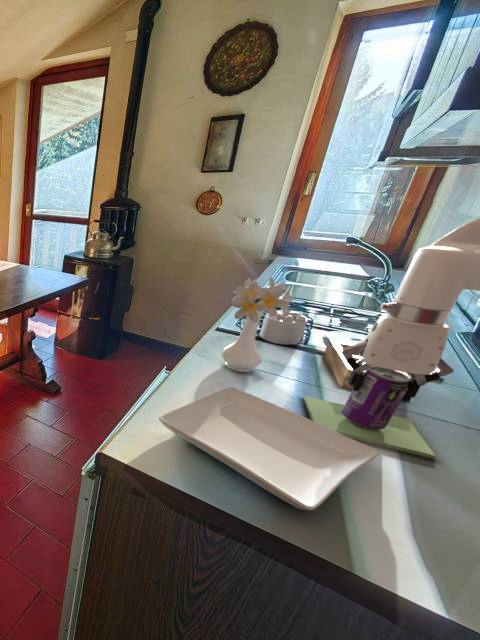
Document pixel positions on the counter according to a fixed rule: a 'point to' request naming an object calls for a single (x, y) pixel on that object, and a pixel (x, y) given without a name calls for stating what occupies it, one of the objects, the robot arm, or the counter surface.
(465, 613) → the counter surface
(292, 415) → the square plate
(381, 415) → the beverage can
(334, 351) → the can rack
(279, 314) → the lumpy-topped squat cylinder
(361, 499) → the counter surface
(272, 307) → the flower vase
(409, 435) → the mat
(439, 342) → the robot arm
